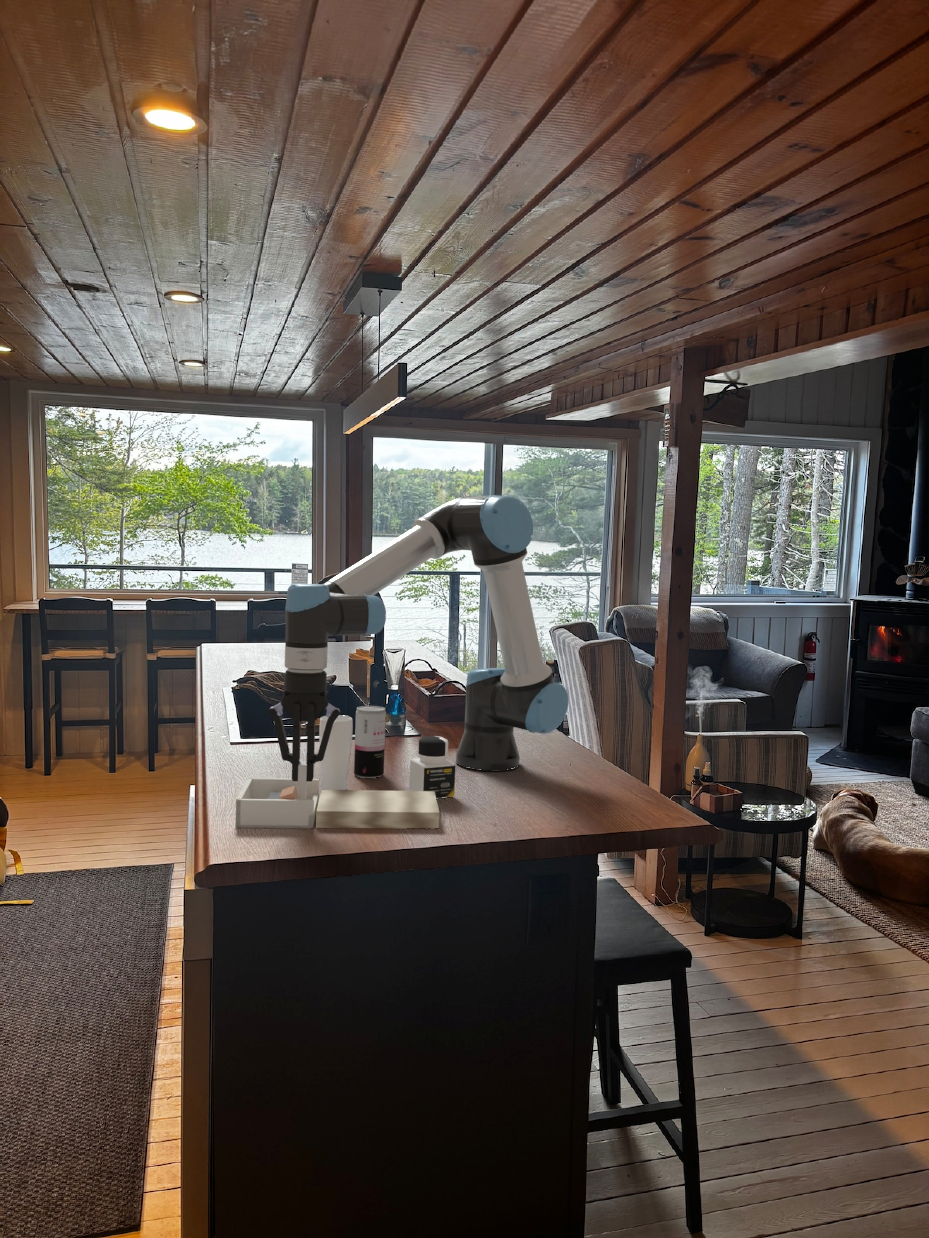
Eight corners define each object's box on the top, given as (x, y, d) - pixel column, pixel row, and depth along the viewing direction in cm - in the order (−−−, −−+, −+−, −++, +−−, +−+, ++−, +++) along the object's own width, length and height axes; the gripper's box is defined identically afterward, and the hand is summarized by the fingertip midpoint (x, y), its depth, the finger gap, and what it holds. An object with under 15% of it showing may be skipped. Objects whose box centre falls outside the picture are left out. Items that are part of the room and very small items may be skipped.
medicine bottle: (423, 801, 176) (425, 742, 175) (408, 792, 182) (410, 735, 181) (454, 798, 179) (457, 740, 178) (439, 789, 185) (441, 733, 184)
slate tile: (270, 791, 167) (270, 804, 167) (267, 799, 162) (267, 812, 162) (297, 792, 167) (296, 805, 168) (294, 799, 162) (294, 812, 163)
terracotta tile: (295, 785, 161) (282, 789, 161) (292, 792, 156) (279, 797, 156) (303, 810, 162) (290, 814, 161) (301, 818, 157) (288, 823, 157)
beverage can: (347, 774, 194) (349, 707, 193) (370, 770, 199) (372, 704, 197) (367, 780, 189) (369, 712, 188) (389, 775, 194) (392, 709, 193)
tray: (318, 804, 171) (319, 778, 170) (312, 828, 156) (313, 800, 155) (247, 803, 169) (248, 777, 169) (235, 827, 154) (236, 799, 154)
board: (433, 806, 172) (434, 791, 172) (438, 828, 158) (439, 812, 158) (321, 804, 170) (321, 789, 170) (315, 827, 156) (316, 811, 156)
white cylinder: (356, 787, 183) (358, 716, 182) (341, 795, 177) (343, 722, 176) (327, 783, 186) (329, 713, 184) (311, 791, 179) (313, 719, 178)
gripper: (266, 671, 153) (262, 804, 155) (341, 673, 154) (337, 804, 156) (271, 666, 160) (268, 792, 162) (343, 668, 162) (339, 793, 163)
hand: (302, 798), depth 159 cm, fingers closed
